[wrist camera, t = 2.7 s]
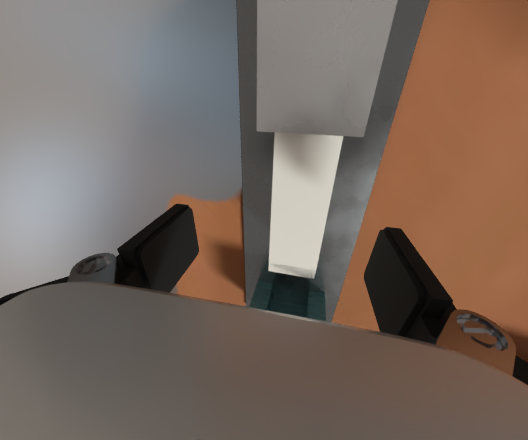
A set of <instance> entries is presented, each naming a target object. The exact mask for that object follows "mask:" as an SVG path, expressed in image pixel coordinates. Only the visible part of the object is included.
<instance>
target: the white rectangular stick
mask: <svg viewBox="0 0 528 440" xmlns="http://www.w3.org/2000/svg"><path fill="white" fill-rule="evenodd" d="M342 141H343V136H332V135H314V134H296V133H277V132H275V136H274V158H273V180H272V202H271V224H270V247H269V269H268V271H272V272H277V273H283V274H289V275H294V276H300V277H306V278H311V279H315V274H316V269H317V264H318V259H319V254H320V249H321V244H322V239H323V234H324V229H325V224H326V219H327V215H328V210H329V205H330V200H331V195H332V190H333V185H334V180H335V175H336V170H337V165H338V160H339V155H340V150H341V146H342Z"/></svg>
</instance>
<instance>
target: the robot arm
mask: <svg viewBox="0 0 528 440" xmlns="http://www.w3.org/2000/svg"><path fill="white" fill-rule="evenodd" d="M117 250H118V252H119V255H118V256H117V257H116V256H115V255H113V254H110V253H100V254H95V255H92V256H89V257H87V258H85V259H83V260H81V261H80V262H78V263H77V264H76V265H75V266H74V267H73V268H72V270H71V272H70V275H69V276H68V277H65V278H62V279H58V280H55V281H52V282H48V283H45V284H42V285H39V286H36V287H32V288H29V289H26V290H23V291H19V292H16V293H12V294H9V295H6V296H4V297H2V298H0V440H528V363H527V362H525V361H524V360H522V359H521V358H519V357H517V356H516V346H515V343H514V342H513V340H512V338H511V337H510V336H509V335H508V334H507V333H506V332H505V331H504V330H503V329H502V328H501V327H500V326H498V325H497V324H496V323H494V322H493V321H491V320H490V319H488V318H486V317H484V316H482V315H480V314H478V313H475V312H472V311H469V310H461V309H459V310H457V309H456V308H455V306H454V305H453V303H452V302H453V300H452V299H451V297H450V296H449V294H448V293H447V292H446V290H445V289H444V287H443V286H442V285H441V283H440V282H439V281H438V279H437V278H436V276H435V275H434V274H433V272H432V271H431V270H430V268H429V267H428V265H427V264H426V263H425V261H424V260H423V258H422V257H421V256H420V254H419V253H418V252H417V250H416V249H415V247H414V246H413V245H412V243H411V242H410V240H409V239H408V238H407V236H406V235H405V234H404V232H403V231H402V230H401V229H399V228H390V227H386V228H385V229H384V230H380V232H379V234H378V237H377V240H376V242H375V245H374V248H373V251H372V253H371V256H370V259H369V262H368V264H367V267H366V270H365V273H364V281H365V284H366V287H367V290H368V294H369V297H370V300H371V303H372V307H373V310H374V313H375V316H376V320H377V323H378V326H379V329H380V332H378V331H373V330H368V329H363V328H358V327H353V326H348V325H342V324H337V323H332V322H326V321H321V320H316V319H311V318H305V317H300V316H295V315H289V314H284V313H279V312H273V311H268V310H262V309H257V308H251V307H246V306H241V305H235V304H230V303H224V302H219V301H213V300H208V299H202V298H196V297H191V296H185V295H179V294H174V293H170V291H171V290H172V289H173V288H174V286H175V285H176V284H177V282H178V281H179V279H180V278H181V277H182V275H183V274H184V273H185V271H186V270H187V269H188V267H189V266H190V264H191V263H192V262H193V260H194V259H195V258H196V256H197V255H198V252H199V247H198V241H197V235H196V229H195V223H194V217H193V211H192V209H191V208H190V207H189V206H188V205H184V204H175V205H174V206H173V207H171V208H170V209H169V210H167V211H166V212H165V213H164V214H162V215H161V216H160V217H158V218H157V219H156V220H154V221H153V222H152V223H151V224H149V225H148V226H146V227H145V228H144V229H143V230H141V231H140V232H139V233H137V234H136V235H135V236H133V237H132V238H131V239H130V240H128V241H127V242H126V243H124V244H123V245H122V246H120V247H119V248H118V249H117Z"/></svg>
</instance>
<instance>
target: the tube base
mask: <svg viewBox="0 0 528 440" xmlns="http://www.w3.org/2000/svg"><path fill="white" fill-rule="evenodd" d="M236 1H237V2H236V3H237V32H238V33H237V34H238V66H239V97H240V128H241V159H242V191H243V223H244V254H245V285H246V307H251V308H257V309H262V310H268V311H273V312H279V313H284V314H289V315H295V316H300V317H305V318H311V319H316V320H321V321H326V322H332V318H333V315H334V312H335V309H336V305H337V302H338V299H339V295H340V292H341V289H342V286H343V282H344V279H345V276H346V272H347V269H348V266H349V263H350V259H351V256H352V253H353V249H354V246H355V243H356V240H357V236H358V233H359V230H360V227H361V223H362V220H363V217H364V213H365V210H366V207H367V204H368V200H369V197H370V194H371V190H372V187H373V184H374V181H375V177H376V174H377V171H378V167H379V164H380V161H381V158H382V154H383V151H384V148H385V144H386V141H387V138H388V135H389V131H390V128H391V125H392V122H393V118H394V115H395V112H396V108H397V105H398V102H399V99H400V95H401V92H402V89H403V85H404V82H405V79H406V76H407V72H408V69H409V66H410V62H411V59H412V56H413V53H414V49H415V46H416V43H417V40H418V36H419V33H420V30H421V26H422V23H423V20H424V17H425V13H426V10H427V7H428V3H429V0H236ZM275 132H277V133H296V134H314V135H332V136H343V141H342V146H341V150H340V155H339V160H338V165H337V170H336V175H335V180H334V185H333V190H332V195H331V200H330V205H329V210H328V215H327V219H326V224H325V229H324V234H323V239H322V244H321V249H320V254H319V259H318V264H317V269H316V274H315V279H311V278H306V277H300V276H294V275H289V274H283V273H277V272H272V271H268V269H269V247H270V224H271V202H272V180H273V158H274V136H275Z"/></svg>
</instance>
